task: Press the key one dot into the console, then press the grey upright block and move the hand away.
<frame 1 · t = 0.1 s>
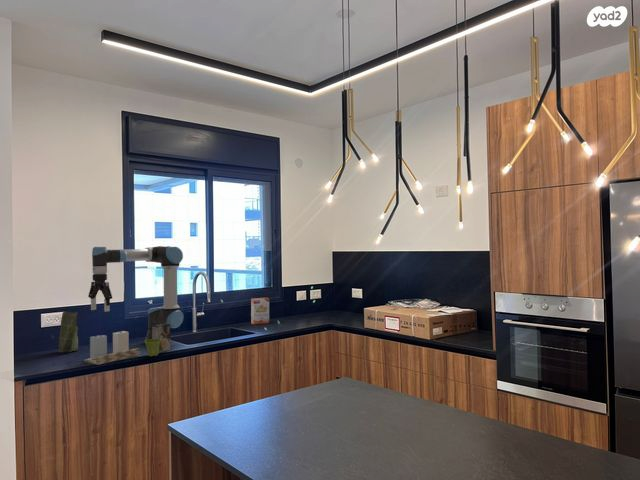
hand: (100, 310, 267), 28 cm above the countertop, tool pointing down, fingers open, 13 cm apart
coffee box: (161, 351, 287), on the countertop
console: (112, 358, 269), on the countertop
grey upright block: (98, 346, 265), point 8 cm above the countertop, slide at 0.0 cm
pouch: (69, 351, 287), on the countertop
plant pot: (152, 355, 276), on the countertop
cracker box: (260, 323, 383), on the countertop
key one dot: (120, 342, 277), point 8 cm above the countertop, slide at 0.0 cm
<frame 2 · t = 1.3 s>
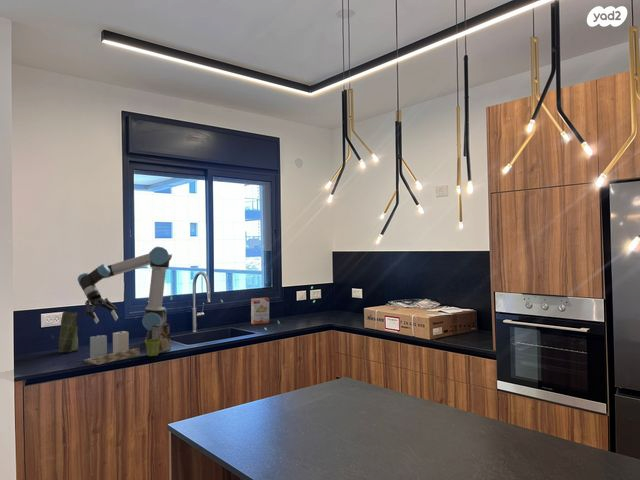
hand: (107, 320, 284), 19 cm above the countertop, tool tilted 45°, fingers open, 12 cm apart
nothing on the countertop moved.
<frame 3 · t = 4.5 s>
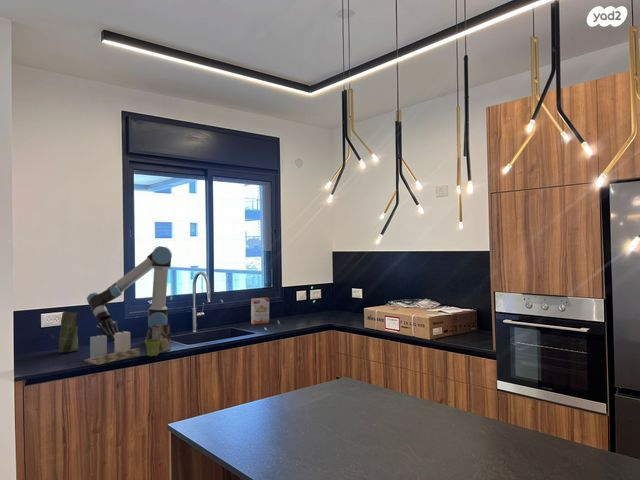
hand: (118, 344, 277), 6 cm above the countertop, tool tilted 45°, fingers closed
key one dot: (122, 342, 276), point 8 cm above the countertop, slide at 1.7 cm, touching gripper
everything else where it was.
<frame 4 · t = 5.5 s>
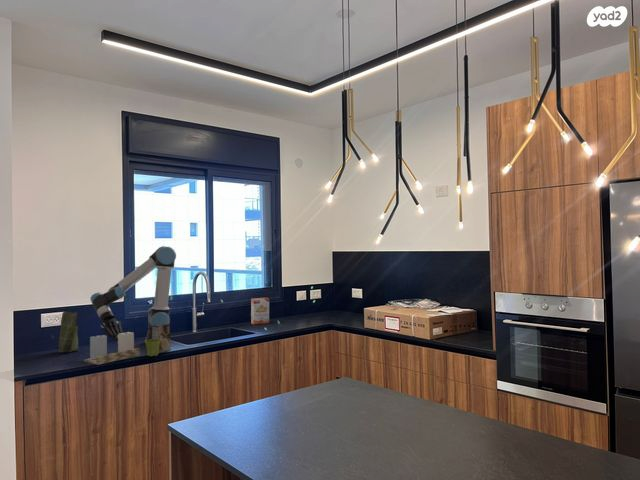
hand: (121, 345, 276), 6 cm above the countertop, tool tilted 45°, fingers closed
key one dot: (126, 343, 274), point 8 cm above the countertop, slide at 5.2 cm, touching gripper
everything else where it was.
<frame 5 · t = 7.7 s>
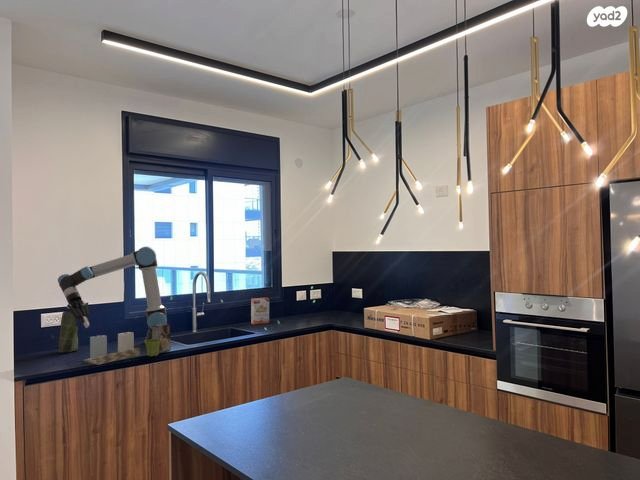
hand: (87, 326, 273), 18 cm above the countertop, tool tilted 45°, fingers closed
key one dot: (125, 343, 274), point 8 cm above the countertop, slide at 5.0 cm
everything else where it was.
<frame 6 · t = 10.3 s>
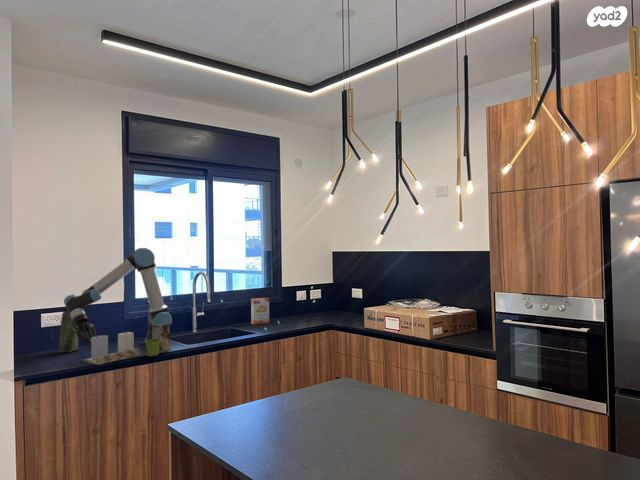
hand: (95, 349, 266), 6 cm above the countertop, tool tilted 45°, fingers closed
grey upright block: (99, 347, 264), point 8 cm above the countertop, slide at 1.2 cm, touching gripper
everything else where it was.
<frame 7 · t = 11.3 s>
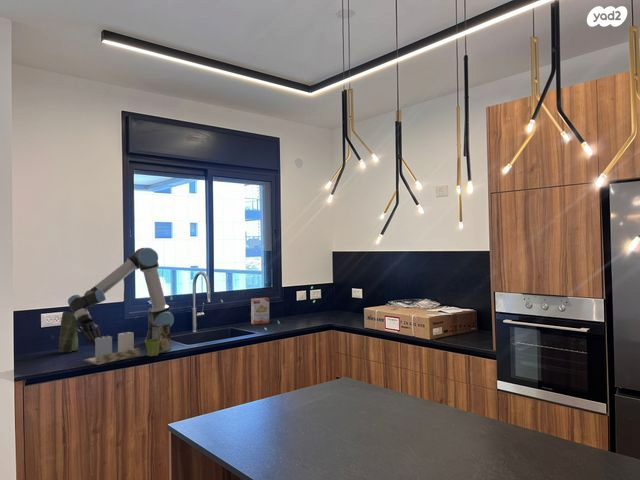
hand: (99, 349, 264), 6 cm above the countertop, tool tilted 45°, fingers closed
grey upright block: (103, 347, 262), point 8 cm above the countertop, slide at 5.1 cm, touching gripper
everything else where it was.
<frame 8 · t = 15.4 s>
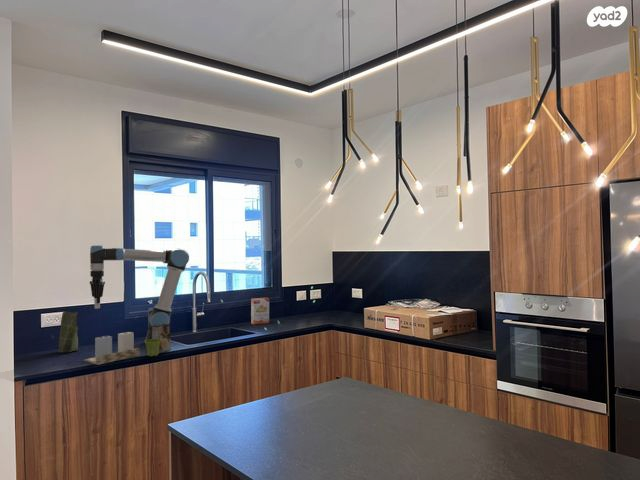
hand: (97, 308, 288), 26 cm above the countertop, tool pointing down, fingers closed
grey upright block: (103, 347, 262), point 8 cm above the countertop, slide at 5.0 cm
everything else where it was.
at the end: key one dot slide at 5.0 cm; grey upright block slide at 5.0 cm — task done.
